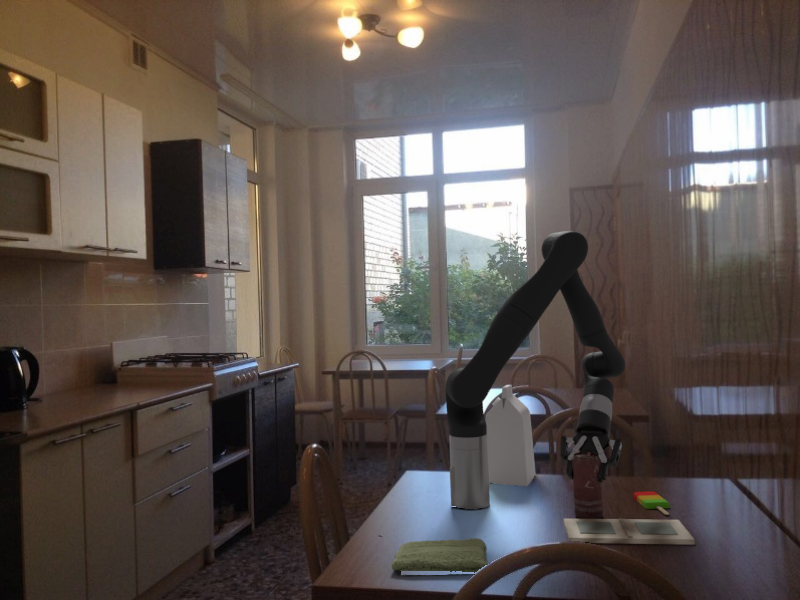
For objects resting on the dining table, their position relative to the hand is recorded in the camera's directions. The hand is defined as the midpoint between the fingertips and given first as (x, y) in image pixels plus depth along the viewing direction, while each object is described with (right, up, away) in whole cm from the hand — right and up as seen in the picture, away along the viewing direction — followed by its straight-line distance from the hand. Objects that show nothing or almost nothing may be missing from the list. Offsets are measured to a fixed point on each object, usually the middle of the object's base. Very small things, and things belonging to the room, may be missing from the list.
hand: (585, 478), depth 146 cm
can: (+1, -9, +1) cm, 9 cm away
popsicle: (+18, -9, +7) cm, 21 cm away
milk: (-11, -10, +36) cm, 38 cm away
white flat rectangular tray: (+5, -8, -10) cm, 14 cm away
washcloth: (-34, -10, -22) cm, 42 cm away
